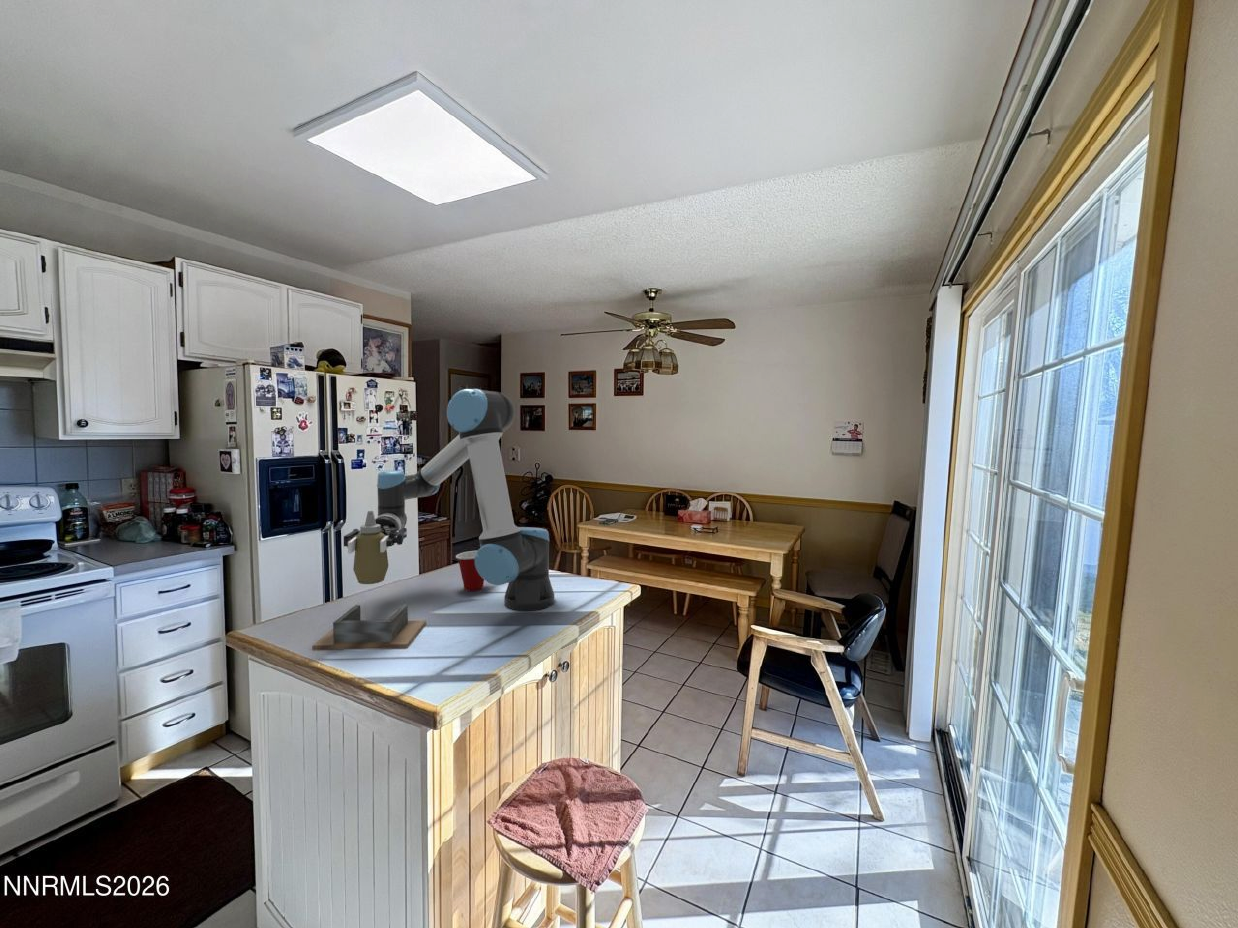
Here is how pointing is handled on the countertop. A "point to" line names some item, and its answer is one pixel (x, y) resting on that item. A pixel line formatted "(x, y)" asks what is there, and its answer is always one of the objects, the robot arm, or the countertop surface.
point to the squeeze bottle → (370, 553)
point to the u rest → (371, 631)
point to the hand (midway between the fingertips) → (366, 547)
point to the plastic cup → (469, 571)
